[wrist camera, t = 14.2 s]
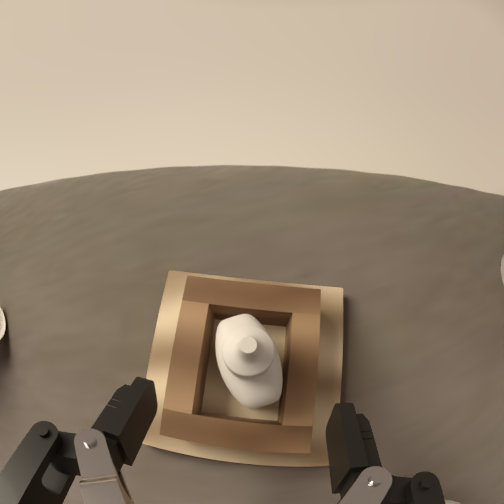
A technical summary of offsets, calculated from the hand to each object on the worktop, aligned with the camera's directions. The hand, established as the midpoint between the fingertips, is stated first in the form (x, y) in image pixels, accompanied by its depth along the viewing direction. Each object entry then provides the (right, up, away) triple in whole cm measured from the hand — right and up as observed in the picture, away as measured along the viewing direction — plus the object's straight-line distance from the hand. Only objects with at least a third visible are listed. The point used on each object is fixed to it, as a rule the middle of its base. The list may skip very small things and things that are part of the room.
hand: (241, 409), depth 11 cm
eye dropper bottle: (0, -3, +11) cm, 11 cm away
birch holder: (0, -3, +12) cm, 12 cm away
